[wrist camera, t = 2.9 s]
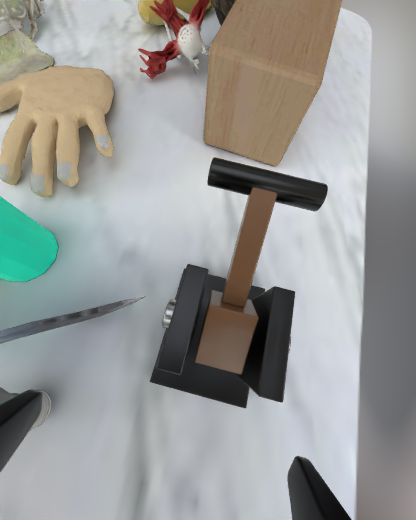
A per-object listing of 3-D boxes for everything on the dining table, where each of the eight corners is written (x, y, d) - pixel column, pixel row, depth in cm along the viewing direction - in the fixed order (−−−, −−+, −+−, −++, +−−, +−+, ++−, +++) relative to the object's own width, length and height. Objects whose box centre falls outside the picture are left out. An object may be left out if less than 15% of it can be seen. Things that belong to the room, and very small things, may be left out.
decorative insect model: (72, 6, 35) (47, -43, 30) (33, 52, 33) (-1, 6, 28) (32, -1, 37) (2, -49, 32) (-8, 41, 34) (-46, -3, 30)
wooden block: (208, 44, 18) (265, -58, 24) (201, 143, 27) (244, 52, 33) (323, 81, 17) (351, -32, 24) (276, 169, 27) (305, 71, 33)
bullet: (208, 14, 39) (197, -26, 37) (225, -3, 35) (213, -50, 32) (146, 45, 37) (128, 5, 34) (156, 31, 32) (136, -17, 30)
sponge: (60, 61, 31) (48, 68, 34) (27, 15, 28) (16, 26, 30) (-9, 107, 27) (-17, 111, 29) (-58, 59, 23) (-63, 68, 26)
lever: (214, 166, 11) (212, 147, 8) (313, 189, 11) (339, 177, 8) (175, 330, 12) (164, 354, 10) (262, 353, 12) (272, 383, 9)
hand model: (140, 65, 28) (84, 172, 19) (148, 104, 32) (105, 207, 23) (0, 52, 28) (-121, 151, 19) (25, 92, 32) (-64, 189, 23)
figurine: (209, -39, 29) (184, -108, 23) (256, 22, 28) (243, -35, 22) (141, 61, 35) (108, 27, 29) (178, 115, 34) (151, 91, 28)
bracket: (185, 271, 22) (173, 204, 11) (261, 291, 21) (332, 243, 10) (152, 379, 18) (86, 445, 7) (242, 404, 18) (317, 512, 7)
